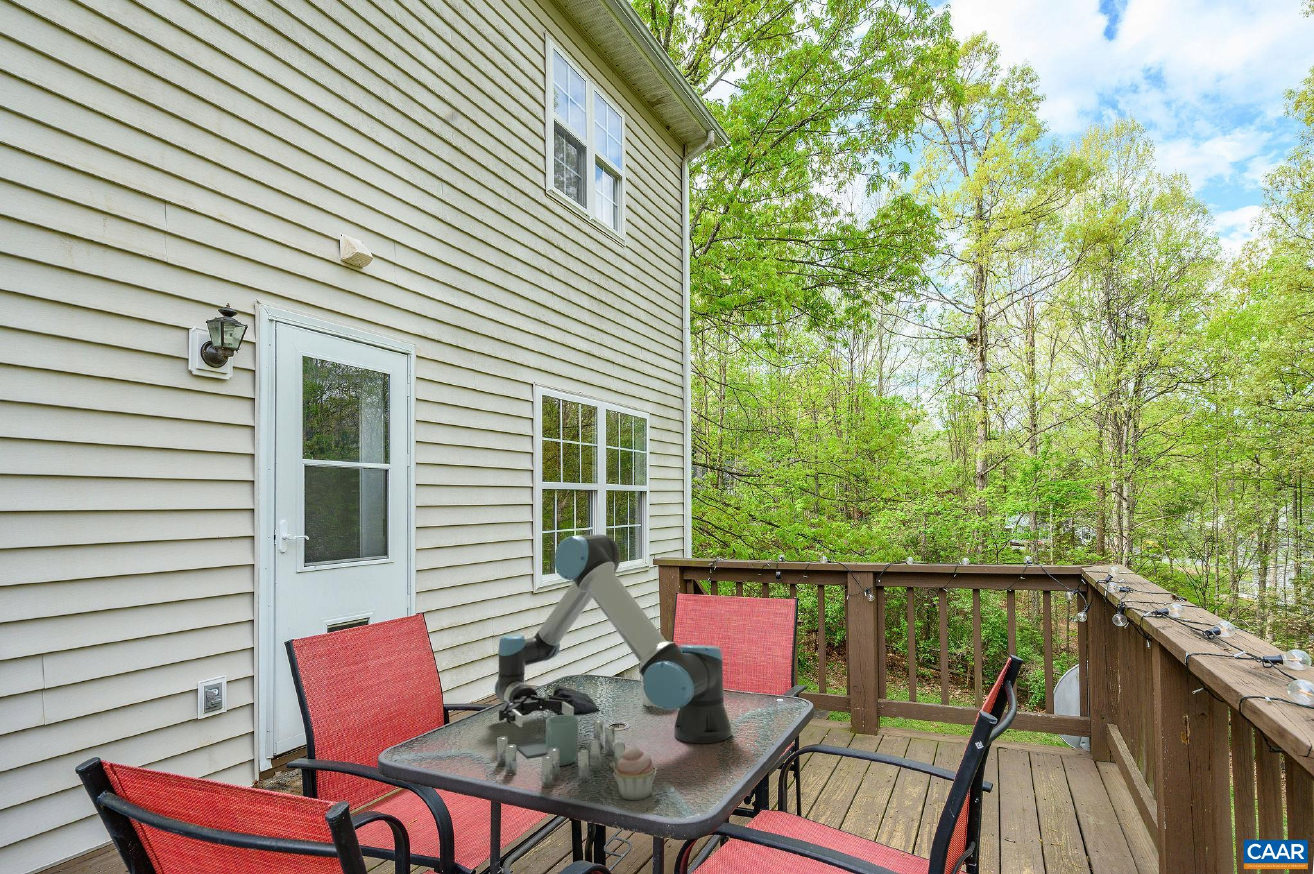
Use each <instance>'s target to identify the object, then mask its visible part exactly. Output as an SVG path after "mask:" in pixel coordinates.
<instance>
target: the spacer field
mask: <svg viewBox="0 0 1314 874" xmlns="http://www.w3.org/2000/svg"><path fill="white" fill-rule="evenodd" d="M615 731H616V730H615V727H614V726H605V727H604V720H602V719H595V720H593V740H590V741H589V750H587V749H580V750H578V753H577V781H578V782H579V781H581V782H580V783H585V782H584V781H587V782H588V780H589V781H590V771H592V772H594V771H595V772H596V771H600V770H601V748H603V747H604V749H605V751H604V752H605V753H604V754H605V755H606V754H607V755H606V756H611V755H612V756H613V755H614V760H612V761H611V762H610V769H611V770H612V771H614V769H615V768H617V764H618V761H619V760H620V758H622V756H623V753H624V752H625V750H626V749H628V748H629V747H626V743H624V742H616V734H615V733H616V732H615ZM508 738H509V737H508V736H499V737H497V738H496V739H497V740H496V745H497V748H496V752H497V753H496V765H497V766H498V765H499V766H498V767H503V766H502V765H506V766H505V775H506V774H514V775H516V774H517V748H516V745H515V744H513V743H511V744H508ZM560 767H561V766H560V759H559V748H551V749H549V755H542V757H541V787H542V788H543V789H550V788H549V787H551V788H553V787H554V780H553V779H555V780H558V779H560V778H559V777H561V776H560V775H561V774H560ZM515 773H516V774H515ZM552 786H553V787H552Z"/></svg>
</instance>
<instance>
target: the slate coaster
mask: <svg viewBox="0 0 1314 874" xmlns="http://www.w3.org/2000/svg"><path fill="white" fill-rule="evenodd" d="M512 744H515V745H516V750H518V751H519V752H520V753H521V752H522V753H521V754H522V755H524V757H526V759H530V758H535V757H541V756H545V755H547V750H546V736H545V737H539V738H534V739H528V740H522V741H515V742H512Z"/></svg>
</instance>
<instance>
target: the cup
mask: <svg viewBox="0 0 1314 874" xmlns="http://www.w3.org/2000/svg"><path fill="white" fill-rule="evenodd" d="M579 721H580V720H579V718H578V717H577V716H576V715H574V716H573V715H565V714H559V715H553V716H550V717H547V718H546V720H545V737H546V750H547V755H549V749H551V748H559V759H560V767H562V766H568V765H570V764H572V763H574V762H575V761H576V759H577V758H578V751H579V740H580V731H579V730H580V728H579V726H580V724H579Z"/></svg>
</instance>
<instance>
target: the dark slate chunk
mask: <svg viewBox="0 0 1314 874" xmlns="http://www.w3.org/2000/svg"><path fill="white" fill-rule="evenodd" d="M552 696H556V697H561V698H568V699H572V700H573V707H574V714H588V713H589V714H592V713H591V712H593V713H597V712H596V711H598V712H601V709H600V708H597V707H598V705H596V703H595V701H594V700H593V699H592V698H591V697H590V696H589V694H587V693H585V692H580V691H577V690H576V689H573V688H570V687H569V688H568V687H564V686H561V685H556V686H555V688H554V690H553V693H552ZM599 709H600V710H599ZM559 712H560V714H561V715H564V714H563V713H562V711H557V713H559Z"/></svg>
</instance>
